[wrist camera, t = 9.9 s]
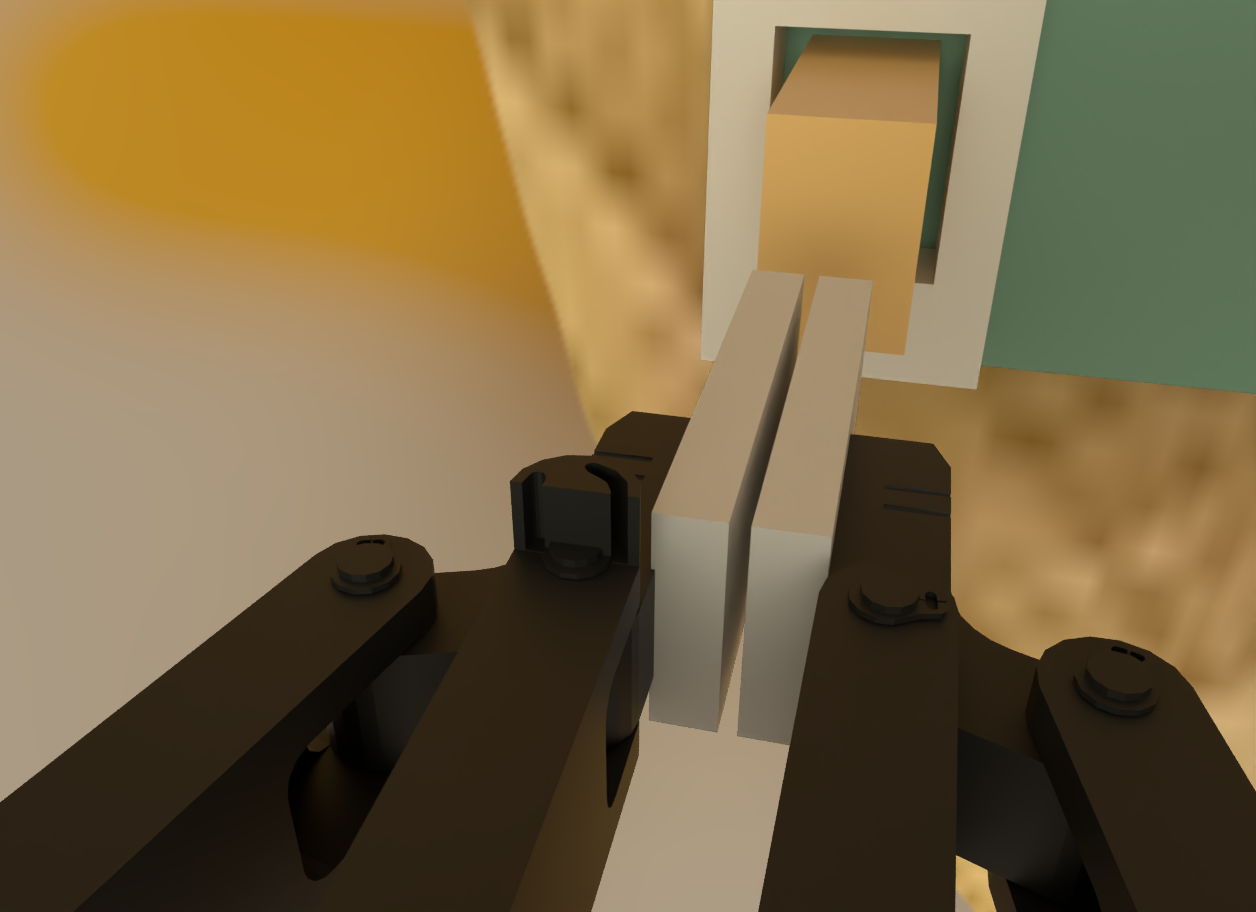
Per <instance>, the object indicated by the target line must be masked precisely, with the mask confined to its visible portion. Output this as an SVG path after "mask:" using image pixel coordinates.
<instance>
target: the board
mask: <svg viewBox="0 0 1256 912" xmlns="http://www.w3.org/2000/svg"><path fill="white" fill-rule="evenodd" d="M813 34H818V35H841V36H863V37H885V38H908V39H930V40H941V41H940V63H939V86H938V108H937V126H936V133H935V140H934V147H933V154H932V161H931V168H930V176H929V183H928V190H927V197H926V204H925V211H924V218H923V225H922V232H921V240H920V247H919V254H918V261H917V268H916V275H915V282H914V289H913V296H912V304H911V311H910V318H909V325H908V332H907V339H906V346H905V353H904V355H896V354H886V353H876V352H866V351H864V360H863V368H862V376H861V377H865V378H874V379H883V380H893V381H902V382H911V383H921V384H930V385H939V386H948V387H958V388H967V389H977V384H978V378H979V373H980V367H981V366H990V367H1000V368H1009V369H1019V370H1029V371H1038V372H1048V373H1058V374H1067V375H1077V376H1087V377H1096V378H1106V379H1116V380H1125V381H1135V382H1145V383H1154V384H1164V385H1174V386H1184V387H1193V388H1203V389H1213V390H1222V391H1232V392H1242V393H1251V394H1256V0H714V2H713V29H712V57H711V84H710V112H709V139H708V167H707V194H706V222H705V249H704V276H703V304H702V331H701V359H700V360H707V361H715V359H716V356H717V354H718V352H719V349H720V347H721V344H722V342H723V340H724V337H725V335H726V332H727V330H728V328H729V325H730V323H731V320H732V318H733V316H734V313H735V311H736V308H737V306H738V303H739V301H740V299H741V296H742V294H743V291H744V289H745V287H746V284H747V282H748V279H749V277H750V275H751V272H752V270H757V264H758V248H759V232H760V216H761V201H762V185H763V169H764V153H765V137H766V121H767V113H768V111H769V109H770V108H771V106H772V104H773V102H774V101H775V99H776V97H777V95H778V94H779V92H780V90H781V89H782V87H783V85H784V83H785V82H786V80H787V78H788V76H789V75H790V73H791V71H792V70H793V68H794V66H795V64H796V63H797V61H798V59H799V57H800V56H801V54H802V52H803V50H804V49H805V47H806V45H807V44H808V42H809V40H810V38H811V37H812V35H813Z"/></svg>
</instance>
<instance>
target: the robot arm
mask: <svg viewBox="0 0 1256 912" xmlns="http://www.w3.org/2000/svg"><path fill="white" fill-rule="evenodd" d="M804 275H805V274H794V273H783V272H772V271H760V270H752V272H751V275H750V277H749V279H748V282H747V284H746V287H745V289H744V291H743V294H742V296H741V299H740V301H739V303H738V306H737V308H736V311H735V313H734V316H733V318H732V320H731V323H730V325H729V328H728V330H727V332H726V335H725V337H724V340H723V342H722V344H721V347H720V349H719V352H718V354H717V356H716V359H715V361H714V364H713V366H712V368H711V371H710V373H709V376H708V378H707V380H706V383H705V385H704V388H703V390H702V392H701V395H700V397H699V400H698V402H697V404H696V407H695V409H694V412H693V414H692V417H691V418H686V417H677V416H669V415H660V414H652V413H644V412H635V411H632V412H630V413H629V414H627V415H626V416H624V417H623V418H621V419H620V420H618V421H617V422H615V423H614V424H612V425H611V426H609V427H608V428H606V430H605V432H604V434H603V436H602V438H601V439H600V441H599V443H598V445H597V447H596V449H595V452H594V455H592V456H576V455H566V456H560V457H555V458H550V459H544V460H541V461H539V462H537V463H534V464H533V465H530V466H528V467H526V468H524V469H522V470H521V471H520V472H519V473H518V474H517V475H516V476H515V477H514V478H513V479H512V480H511V481H510V489H511V504H512V520H513V535H514V548H515V549H514V551H513V553H512V554H511V556H510V558H509V560H508V562H507V564H506V565H502V566H499V567H496V568H490V569H483V570H476V571H460V572H444V573H434V565H433V559H432V558H431V556H430V555H429V553H428V552H427V551H426V549H425V548H424V547H423V546H421V545H419V544H417V543H415V542H413V541H411V540H410V539H407V538H402V537H397V536H391V535H368V536H359V537H356V538H352V539H348V540H345V541H341V542H338V543H335V544H333V545H332V546H330V547H328V548H326V549H325V550H323V551H321V552H319V553H318V554H316V555H315V556H313V557H312V558H311V559H310V560H308V561H307V562H306V563H304V564H303V565H302V566H301V567H299V568H298V569H297V570H295V571H294V572H293V573H292V574H291V575H289V576H288V577H287V578H285V579H284V580H283V581H281V582H280V583H279V584H278V585H276V586H275V587H274V588H272V589H271V590H270V591H269V592H267V593H266V594H265V595H264V596H262V597H261V598H260V599H258V600H257V601H256V602H255V603H253V604H252V605H251V606H250V607H248V608H247V609H246V610H244V611H243V612H242V613H241V614H239V615H238V616H237V617H236V618H234V619H233V620H232V621H231V622H229V623H228V624H227V625H225V626H224V627H223V628H222V629H220V630H219V631H218V632H216V633H215V634H214V635H213V636H211V637H210V638H209V639H208V640H206V641H205V642H204V643H202V644H201V645H200V646H199V647H197V648H196V649H195V650H194V651H192V652H191V653H190V654H188V655H187V656H186V657H185V658H183V659H182V660H181V661H180V662H178V663H177V664H176V665H174V666H173V667H172V668H171V669H169V670H168V671H167V672H166V673H164V674H163V675H162V676H161V677H159V678H158V679H157V680H155V681H154V682H153V683H152V684H150V685H149V686H148V687H147V688H145V689H144V690H143V691H142V692H140V693H139V694H138V695H136V696H135V697H134V698H132V699H131V700H130V701H129V702H127V703H126V704H125V705H124V706H123V707H121V708H120V709H118V710H117V711H116V712H115V713H113V714H112V715H111V716H110V717H108V718H107V719H106V720H104V721H103V722H102V723H101V724H99V725H98V726H97V727H96V728H94V729H93V730H92V731H90V732H89V733H88V734H87V735H85V736H84V737H83V738H82V739H80V740H79V741H78V742H77V743H75V744H74V745H73V746H71V747H70V748H69V749H68V750H66V751H65V752H64V753H63V754H61V755H60V756H59V757H58V758H56V759H55V760H54V761H52V762H51V763H50V764H48V765H47V766H46V767H45V768H43V769H42V770H41V771H40V772H38V773H37V774H36V775H35V776H33V777H32V778H31V779H29V780H28V781H27V782H26V783H24V784H23V785H22V786H20V787H19V788H18V789H17V790H15V791H14V792H13V793H12V794H10V795H9V796H8V797H6V798H5V799H4V800H3V801H1V802H0V912H591V910H592V907H593V903H594V901H595V897H596V894H597V890H598V887H599V884H600V881H601V878H602V874H603V870H604V868H605V864H606V861H607V858H608V854H609V851H610V848H611V844H612V841H613V838H614V835H615V831H616V828H617V825H618V821H619V818H620V815H621V812H622V808H623V805H624V802H625V799H626V795H627V792H628V789H629V785H630V782H631V779H632V776H633V772H634V769H635V765H636V762H637V759H638V756H639V719H640V716H641V713H642V710H643V707H644V704H645V701H646V698H647V695H648V692H649V720H650V721H656V722H661V723H667V724H673V725H678V726H684V727H690V728H696V729H702V730H706V731H712V732H718V728H719V724H720V720H721V716H722V712H723V708H724V704H725V700H726V695H727V692H728V687H729V684H730V680H731V676H732V672H733V668H734V664H735V660H736V655H737V651H738V647H739V643H740V639H741V635H742V631H743V627H744V623H745V629H744V644H743V658H742V659H743V660H742V673H741V688H740V703H739V717H738V732H737V736H740V737H746V738H751V739H757V740H763V741H768V742H774V743H780V744H785V745H790V747H789V752H788V758H787V763H786V768H785V773H784V779H783V784H782V789H781V795H780V800H779V806H778V811H777V816H776V821H775V826H774V831H773V837H772V842H771V848H770V853H769V858H768V863H767V868H766V874H765V879H764V884H763V889H762V895H761V900H760V905H759V911H758V912H955V885H956V855H957V856H959V857H961V858H963V859H966V860H968V861H970V862H972V863H974V864H976V865H978V866H980V867H982V868H985V869H987V870H988V882H989V888H990V892H991V895H992V898H993V901H994V905H995V908H996V911H997V912H1256V791H1255V789H1254V788H1253V786H1252V784H1251V783H1250V781H1249V779H1248V778H1247V776H1246V774H1245V773H1244V771H1243V770H1242V768H1241V766H1240V765H1239V763H1238V761H1237V760H1236V758H1235V756H1234V755H1233V753H1232V751H1231V750H1230V748H1229V746H1228V745H1227V743H1226V741H1225V740H1224V738H1223V736H1222V735H1221V733H1220V731H1219V730H1218V728H1217V727H1216V725H1215V723H1214V722H1213V720H1212V718H1211V717H1210V715H1209V713H1208V712H1207V710H1206V708H1205V707H1204V705H1203V703H1202V702H1201V700H1200V698H1199V697H1198V695H1197V693H1196V692H1195V690H1194V688H1193V687H1192V686H1191V685H1190V684H1189V682H1188V681H1187V680H1186V679H1185V678H1184V677H1183V676H1182V675H1181V674H1180V672H1179V671H1178V670H1177V669H1176V668H1175V667H1174V666H1172V665H1170V664H1169V663H1167V662H1166V661H1164V660H1163V659H1161V658H1159V657H1158V656H1156V655H1155V654H1153V653H1152V652H1150V651H1147V650H1145V649H1142V648H1139V647H1136V646H1134V645H1131V644H1128V643H1125V642H1122V641H1119V640H1112V639H1104V638H1097V637H1084V638H1076V639H1068V640H1063V641H1061V642H1059V643H1058V644H1056V645H1054V646H1052V647H1050V648H1048V649H1046V650H1045V652H1044V653H1043V655H1042V657H1041V659H1040V660H1038V659H1035V658H1032V657H1030V656H1027V655H1024V654H1022V653H1019V652H1016V651H1014V650H1011V649H1009V648H1007V647H1005V646H1002V645H1000V644H998V643H996V642H994V641H991V640H990V639H988V638H987V637H985V636H984V635H982V634H981V633H979V632H978V631H976V630H975V629H974V628H973V627H972V626H971V625H970V624H969V623H968V622H967V621H966V620H965V619H964V618H963V617H961V615H960V613H959V612H958V609H957V606H956V602H955V599H954V597H953V596H952V594H951V518H950V514H951V497H950V494H951V467H950V466H949V465H948V463H947V462H946V461H945V459H944V458H943V456H942V455H941V454H940V452H939V451H938V450H937V448H936V447H935V446H934V444H930V443H922V442H913V441H905V440H896V439H888V438H879V437H871V436H862V435H855V426H856V418H857V410H858V401H859V393H860V385H861V376H862V368H863V360H864V351H865V343H866V335H867V326H868V318H869V310H870V301H871V293H872V285H873V281H872V280H861V279H850V278H839V277H828V276H819V280H818V283H817V287H816V291H815V294H814V298H813V302H812V306H811V309H810V313H809V317H808V320H807V324H806V328H805V331H804V335H803V339H802V342H801V346H800V350H799V353H798V345H799V334H800V322H801V310H802V299H803V287H804Z"/></svg>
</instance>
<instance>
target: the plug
mask: <svg viewBox="0 0 1256 912" xmlns="http://www.w3.org/2000/svg"><path fill="white" fill-rule="evenodd" d="M940 41H941V40H930V39H908V38H885V37H863V36H841V35H818V34H813V35H812V37H811V38H810V40H809V42H808V44H807V45H806V47H805V49H804V50H803V52H802V54H801V56H800V57H799V59H798V61H797V63H796V64H795V66H794V68H793V70H792V71H791V73H790V75H789V76H788V78H787V80H786V82H785V83H784V85H783V87H782V89H781V90H780V92H779V94H778V95H777V97H776V99H775V101H774V102H773V104H772V106H771V108H770V109H769V111H768V113H767V121H766V137H765V153H764V169H763V185H762V201H761V216H760V232H759V248H758V264H757V270H760V271H772V272H783V273H794V274H805V275H804V287H803V299H802V310H801V322H800V334H799V345H798V353H799V350H800V346H801V342H802V339H803V335H804V331H805V328H806V324H807V320H808V317H809V313H810V309H811V306H812V302H813V298H814V294H815V291H816V287H817V283H818V280H819V276H828V277H839V278H850V279H861V280H872V281H873V285H872V293H871V301H870V310H869V318H868V326H867V335H866V343H865V351H866V352H876V353H886V354H896V355H904V353H905V346H906V339H907V332H908V325H909V318H910V311H911V304H912V296H913V289H914V282H915V275H916V268H917V261H918V254H919V247H920V240H921V232H922V225H923V218H924V211H925V204H926V197H927V190H928V183H929V176H930V168H931V161H932V154H933V147H934V140H935V133H936V126H937V108H938V86H939V63H940Z"/></svg>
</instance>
